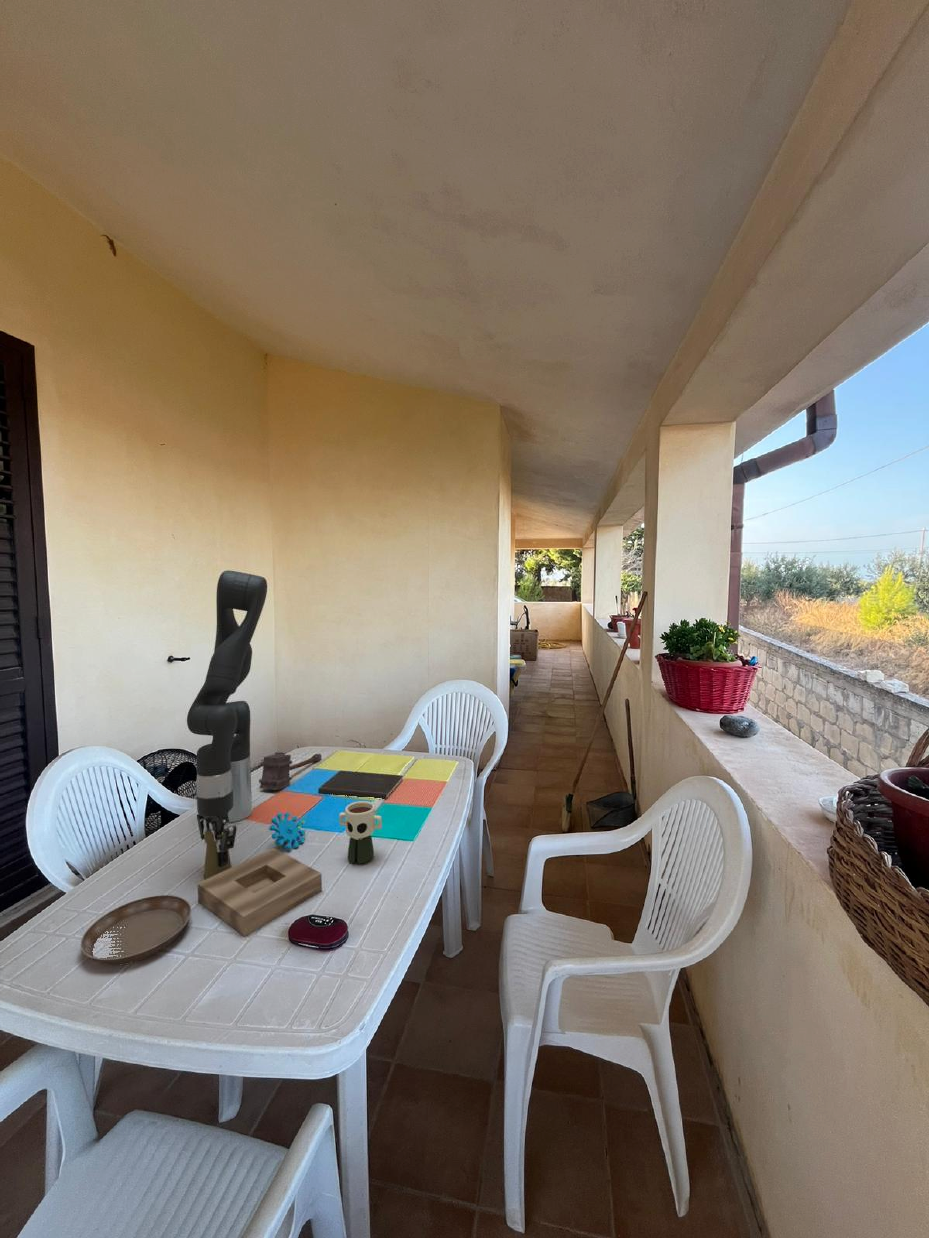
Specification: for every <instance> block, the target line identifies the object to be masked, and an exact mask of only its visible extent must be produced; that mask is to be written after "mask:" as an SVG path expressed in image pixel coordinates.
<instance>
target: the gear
mask: <svg viewBox="0 0 929 1238" xmlns="http://www.w3.org/2000/svg"><path fill="white" fill-rule="evenodd" d="M283 815H284V816H283ZM290 816H291V813H289V812H285V813H284V814H283V813H282V812H278V813H277V814H276V816H274V817H273V818H272V819H271V820H270V822H271V825H270V826H269V827H268V830H269V831H273V833H271V839H272V840H275V843H276V844H277V845H278V846H279V847H282V846H283V844H284V842H287V844H286V845H285V846H284V848H285V849H286V850H290V849H291V848H293V849H298V848H299V847H300V845H301V844H302V843H303V842H304V841H305V839H304V836H305V835H306V830H305V829H302V828H303V827H304V825H305V824H306V821H305V820H304V819H302V820H301V821H300V822H299V823H295V822H296V821H298V820H299V818H298V817H297V816H296V815H293V817H291V819H289V817H290ZM282 817H283V818H284V819H283V818H282ZM292 842H293V845H292Z"/></svg>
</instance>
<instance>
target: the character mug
mask: <svg viewBox="0 0 929 1238" xmlns="http://www.w3.org/2000/svg"><path fill="white" fill-rule="evenodd" d="M344 810H345V811H344V812H340V813H339V816H338V817H339V818H338V820H339V821H338V822H339V825H340V826H341V827H345V828H344V829H345V833H346V834H347V836H348V837H349V843H348V848H347V849H348V850H347V859H348V861H349V862H350V863H352V864H355V860H357V864H364V863H367V862H370V861H371V860H372V859H373V857H374V854H375V850H374V844H373V839H372V834H373V833H374V832H375V830H381V829H382V827H383V823H382V820H383V819H382V816H381V815H376V806H375V804H374V803H372V802H370V801H368V800H367V801H366V800H365V801H364V800H362V801H361V800H360V801H354V802H351V803H350V804H348V805H346V807H345V809H344ZM344 818H345V819H344ZM376 820H377V824H376Z"/></svg>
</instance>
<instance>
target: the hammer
mask: <svg viewBox="0 0 929 1238" xmlns="http://www.w3.org/2000/svg"><path fill="white" fill-rule="evenodd" d="M291 757H292V756H291V754H282V753H281V754H280V753H276V754H271V755H266V756H264V757H263V762H261V764H260V766H261V767H262V775H261V778H260V779H258V783H259V784H260V785H259V789H262V790H270V791H271V790H273V791H277V790H281V789H284V788H287V787H289V786H291V783H290V781H292V779H293V778H292V776H290V771H293V770H296V769H299V768H302V767H305V766H307V765H310V764H312V763H317V762H316V761H319V760H320V761H321V759H322V758H321V757H323V756H322V754H321V753H315V754H313V755H312V756H311V757H310V758H308V759H306V760H303V761H301V762H298V763H295V764H292V763H293V760H291ZM320 761H319V762H320Z"/></svg>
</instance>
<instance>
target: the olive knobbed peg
mask: <svg viewBox="0 0 929 1238" xmlns="http://www.w3.org/2000/svg"><path fill="white" fill-rule="evenodd" d="M222 836H223V834H220V835H217V837H218V838H219V837H222ZM203 840H204V843H205V842H206V843H207V845H206V850H205V859H204V860H205V861H204V869H203V879H204V880H206V879H208V878H210V877H212V876H214V875H217V874H219V873H221V872H223V871H225V870H227V869H229V868H232V867H233V866H232V862H231V856H230V851H229V850H230V849H228V863H227V864H226V865H224V866H222V867H219V866H218V860H217V848H216V842H214V839H213V835H212V832H211V830H210V829H208V830H206V832H205V834H204V839H203ZM221 843H222V840H221V841H220V844H221Z"/></svg>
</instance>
